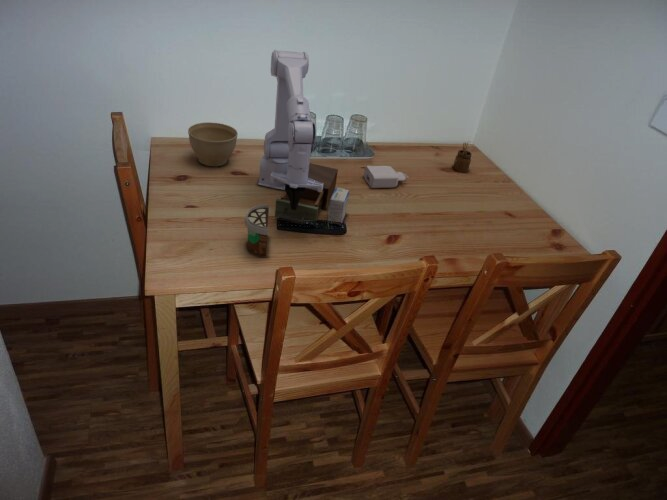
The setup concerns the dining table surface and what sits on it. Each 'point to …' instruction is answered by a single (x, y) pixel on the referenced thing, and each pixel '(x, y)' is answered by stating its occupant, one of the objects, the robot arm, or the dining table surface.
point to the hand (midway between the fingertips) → (294, 208)
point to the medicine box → (338, 205)
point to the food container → (257, 229)
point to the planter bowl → (212, 142)
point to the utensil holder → (462, 159)
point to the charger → (382, 176)
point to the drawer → (300, 207)
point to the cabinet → (324, 180)
